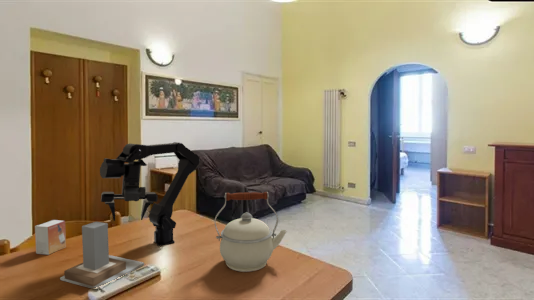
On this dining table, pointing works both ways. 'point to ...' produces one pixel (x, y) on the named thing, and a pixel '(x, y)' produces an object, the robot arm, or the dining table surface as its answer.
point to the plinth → (128, 269)
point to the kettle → (247, 238)
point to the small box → (50, 237)
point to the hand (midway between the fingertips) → (128, 220)
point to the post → (95, 245)
